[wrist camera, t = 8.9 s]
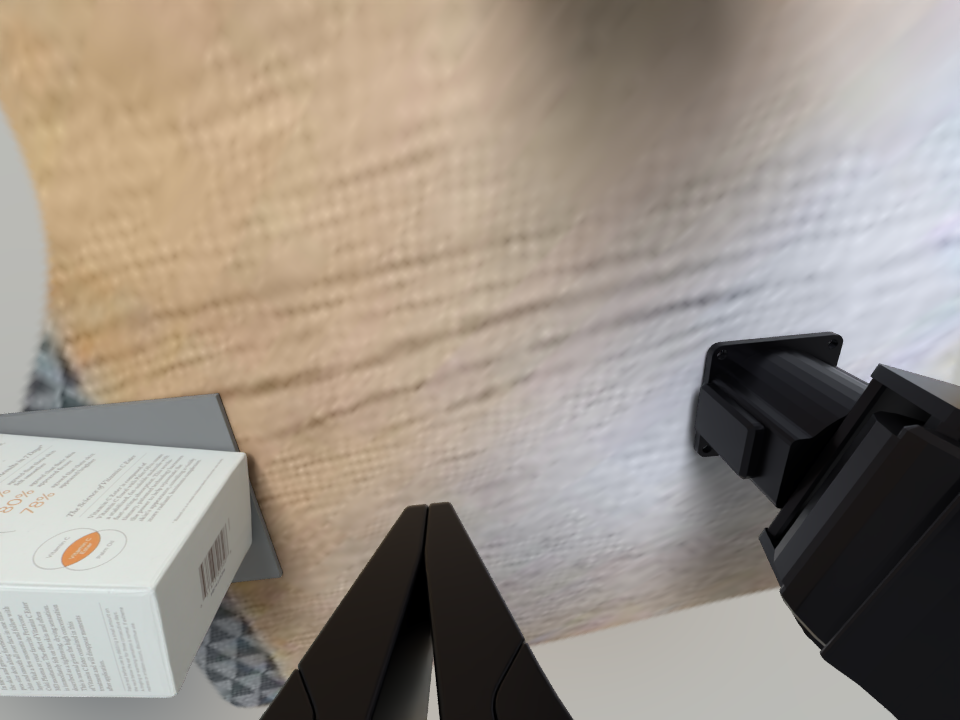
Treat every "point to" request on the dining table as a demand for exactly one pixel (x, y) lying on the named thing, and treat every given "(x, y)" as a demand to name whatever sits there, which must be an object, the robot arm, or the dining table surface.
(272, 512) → the dining table surface
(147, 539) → the small box
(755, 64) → the dining table surface
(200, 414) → the mat
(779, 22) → the dining table surface
